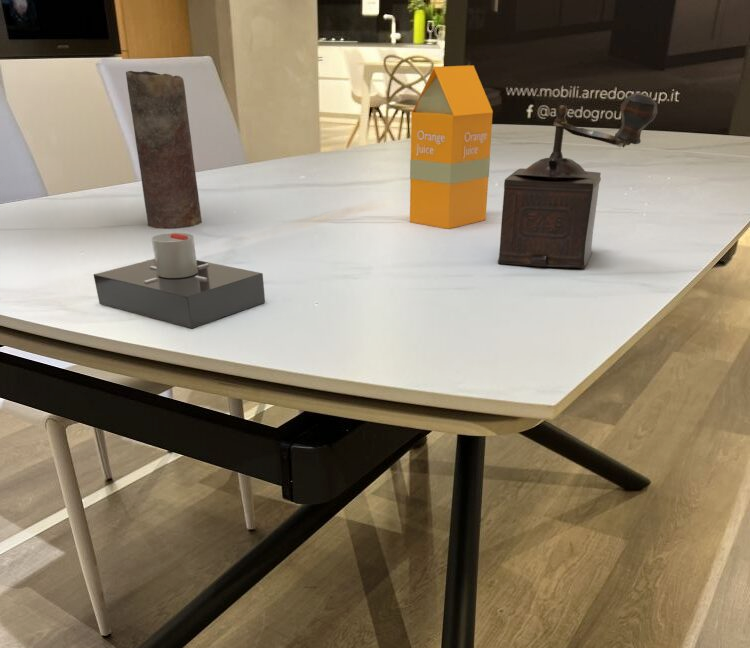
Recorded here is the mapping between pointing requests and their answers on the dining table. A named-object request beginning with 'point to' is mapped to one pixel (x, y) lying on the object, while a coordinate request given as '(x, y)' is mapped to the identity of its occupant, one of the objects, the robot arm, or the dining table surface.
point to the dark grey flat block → (181, 292)
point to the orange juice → (450, 149)
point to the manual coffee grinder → (561, 196)
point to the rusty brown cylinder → (164, 149)
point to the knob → (175, 255)
